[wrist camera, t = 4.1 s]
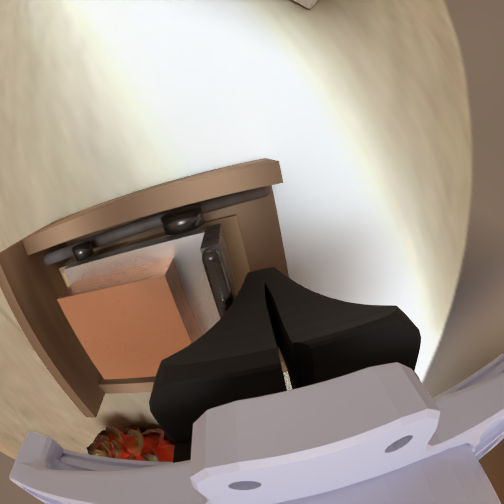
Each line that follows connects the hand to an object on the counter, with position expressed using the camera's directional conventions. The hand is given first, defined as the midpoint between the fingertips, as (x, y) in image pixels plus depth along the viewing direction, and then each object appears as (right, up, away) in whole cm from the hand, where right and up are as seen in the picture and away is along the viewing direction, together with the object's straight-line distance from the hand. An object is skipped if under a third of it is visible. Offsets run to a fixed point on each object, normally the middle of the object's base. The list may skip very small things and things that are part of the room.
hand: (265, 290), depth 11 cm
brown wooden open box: (-5, 0, +4) cm, 6 cm away
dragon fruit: (-10, -16, +10) cm, 22 cm away
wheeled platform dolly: (-5, 0, +3) cm, 6 cm away
